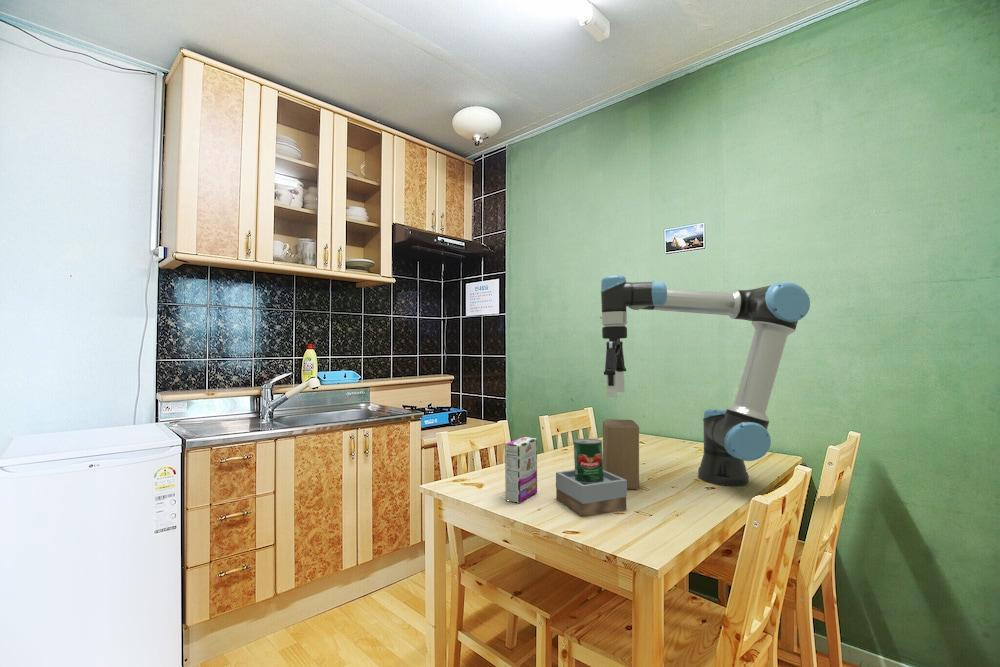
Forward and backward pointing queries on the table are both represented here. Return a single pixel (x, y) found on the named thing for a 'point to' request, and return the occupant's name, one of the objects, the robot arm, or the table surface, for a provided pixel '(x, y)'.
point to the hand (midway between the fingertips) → (616, 394)
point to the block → (621, 450)
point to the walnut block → (591, 505)
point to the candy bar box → (521, 469)
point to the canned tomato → (588, 461)
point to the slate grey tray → (591, 487)
